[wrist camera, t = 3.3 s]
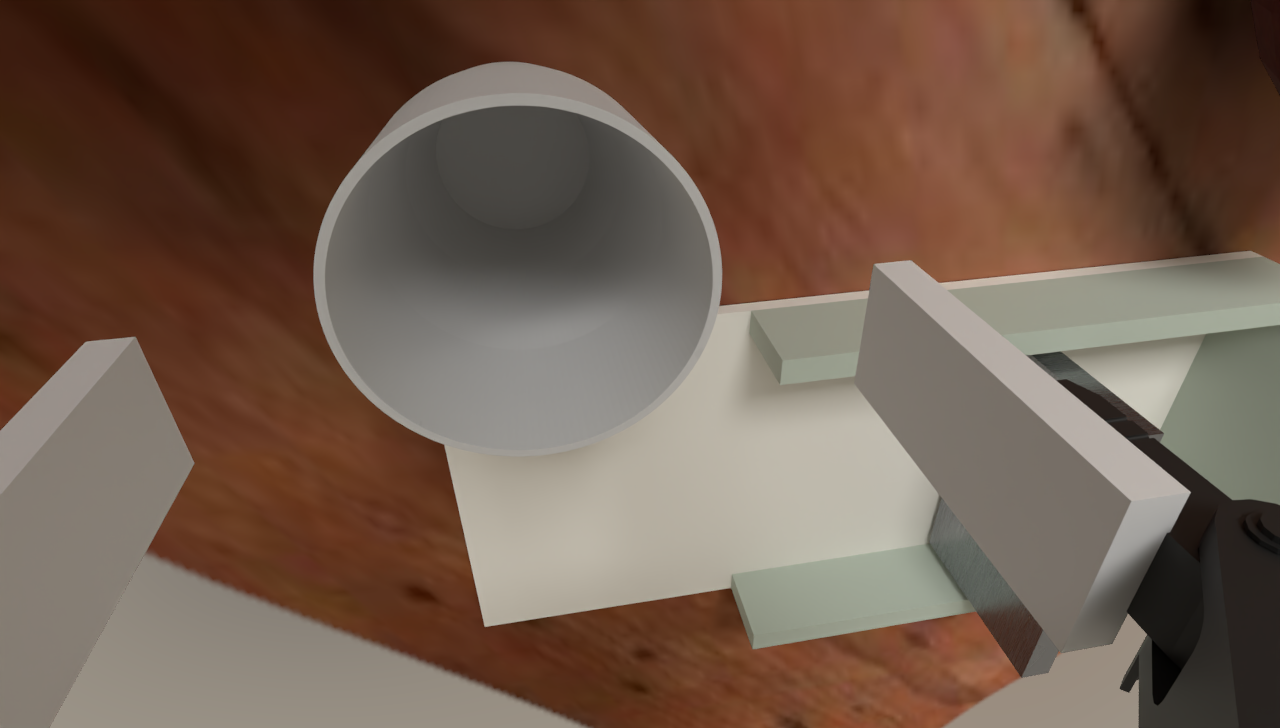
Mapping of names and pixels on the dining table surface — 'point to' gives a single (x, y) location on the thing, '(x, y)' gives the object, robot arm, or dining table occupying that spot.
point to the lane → (855, 452)
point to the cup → (517, 265)
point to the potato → (1268, 36)
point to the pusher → (981, 577)
